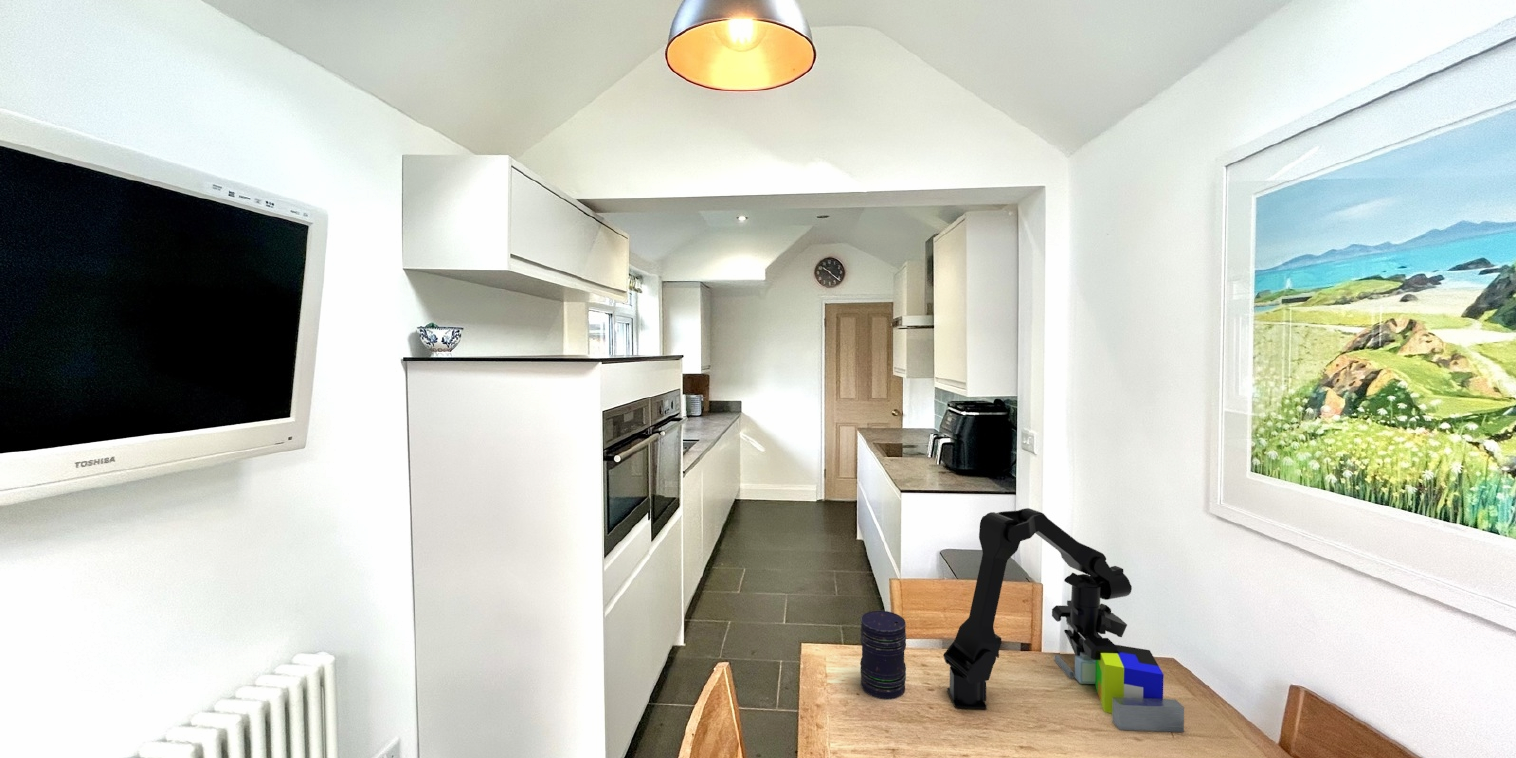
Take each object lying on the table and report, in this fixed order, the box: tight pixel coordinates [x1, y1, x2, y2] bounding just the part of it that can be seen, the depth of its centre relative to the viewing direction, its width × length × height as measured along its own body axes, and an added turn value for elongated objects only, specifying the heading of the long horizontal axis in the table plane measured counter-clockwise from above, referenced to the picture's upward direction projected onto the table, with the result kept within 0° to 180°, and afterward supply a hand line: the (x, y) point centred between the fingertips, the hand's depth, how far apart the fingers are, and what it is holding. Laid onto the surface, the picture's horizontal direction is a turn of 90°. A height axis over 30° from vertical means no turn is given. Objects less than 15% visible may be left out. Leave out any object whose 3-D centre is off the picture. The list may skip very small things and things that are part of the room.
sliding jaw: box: [1074, 652, 1096, 685], centre depth 125 cm, size 12×3×6 cm, turn 86°
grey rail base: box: [1054, 654, 1185, 733], centre depth 121 cm, size 14×25×5 cm, turn 176°
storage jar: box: [859, 610, 907, 700], centre depth 124 cm, size 10×10×15 cm
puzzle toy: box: [1094, 644, 1164, 715], centre depth 118 cm, size 10×10×10 cm
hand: (1082, 666), depth 129 cm, fingers closed
